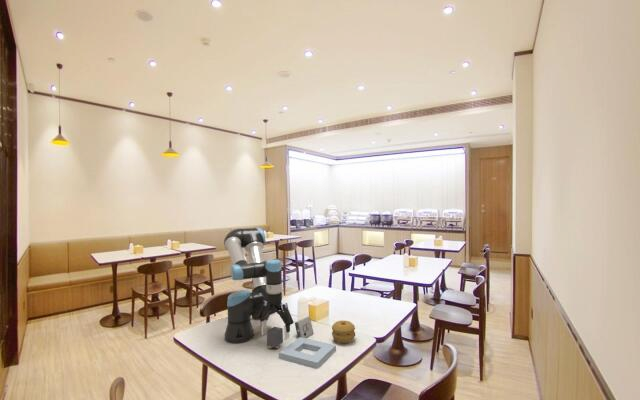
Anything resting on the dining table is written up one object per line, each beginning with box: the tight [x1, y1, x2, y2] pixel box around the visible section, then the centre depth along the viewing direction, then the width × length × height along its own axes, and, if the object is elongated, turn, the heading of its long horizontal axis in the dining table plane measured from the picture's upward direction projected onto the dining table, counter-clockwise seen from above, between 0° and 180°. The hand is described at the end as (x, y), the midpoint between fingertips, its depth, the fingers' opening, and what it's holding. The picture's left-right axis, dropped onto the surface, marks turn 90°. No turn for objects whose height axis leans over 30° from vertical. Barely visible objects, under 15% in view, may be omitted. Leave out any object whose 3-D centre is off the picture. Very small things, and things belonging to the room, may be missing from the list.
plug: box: [266, 326, 284, 349], centre depth 150 cm, size 5×6×8 cm
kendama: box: [251, 312, 275, 322], centre depth 190 cm, size 6×10×20 cm
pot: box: [331, 320, 356, 344], centre depth 155 cm, size 12×12×10 cm
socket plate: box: [278, 337, 337, 369], centre depth 142 cm, size 20×18×2 cm
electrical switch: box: [294, 316, 314, 339], centre depth 162 cm, size 9×5×9 cm, turn 141°
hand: (275, 336), depth 149 cm, fingers open, 13 cm apart
